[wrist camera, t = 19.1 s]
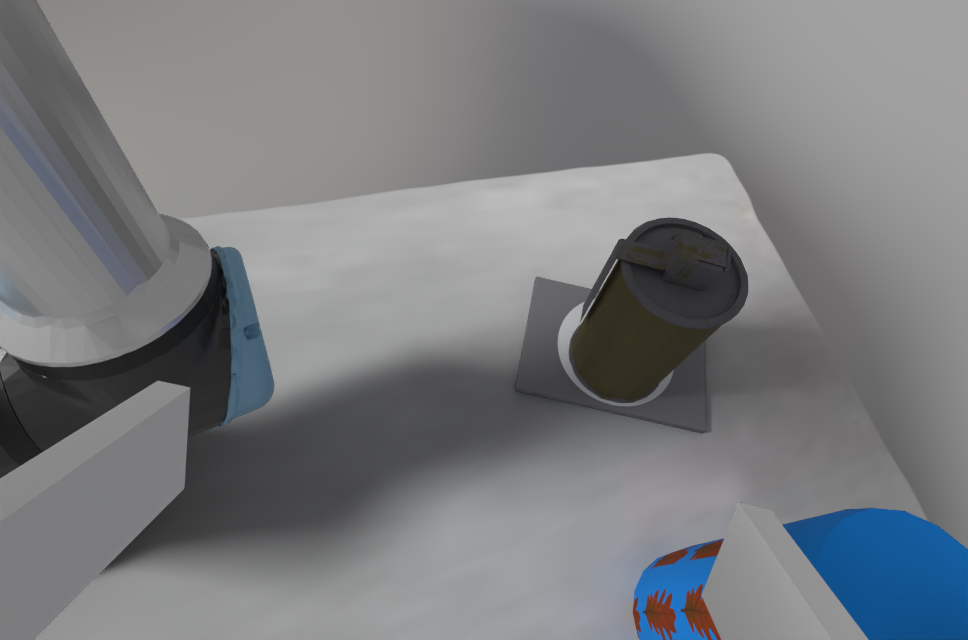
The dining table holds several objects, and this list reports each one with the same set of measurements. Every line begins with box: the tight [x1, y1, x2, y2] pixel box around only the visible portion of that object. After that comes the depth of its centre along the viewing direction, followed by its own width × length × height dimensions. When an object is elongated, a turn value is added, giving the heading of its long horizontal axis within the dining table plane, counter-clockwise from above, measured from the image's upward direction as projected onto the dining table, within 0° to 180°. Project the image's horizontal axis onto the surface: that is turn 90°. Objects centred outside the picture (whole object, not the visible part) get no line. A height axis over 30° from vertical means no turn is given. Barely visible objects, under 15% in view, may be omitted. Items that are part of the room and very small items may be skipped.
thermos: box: [633, 508, 968, 640], centre depth 37 cm, size 11×11×25 cm
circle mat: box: [515, 277, 706, 433], centre depth 59 cm, size 20×14×1 cm
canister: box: [569, 218, 748, 403], centre depth 50 cm, size 11×10×20 cm
